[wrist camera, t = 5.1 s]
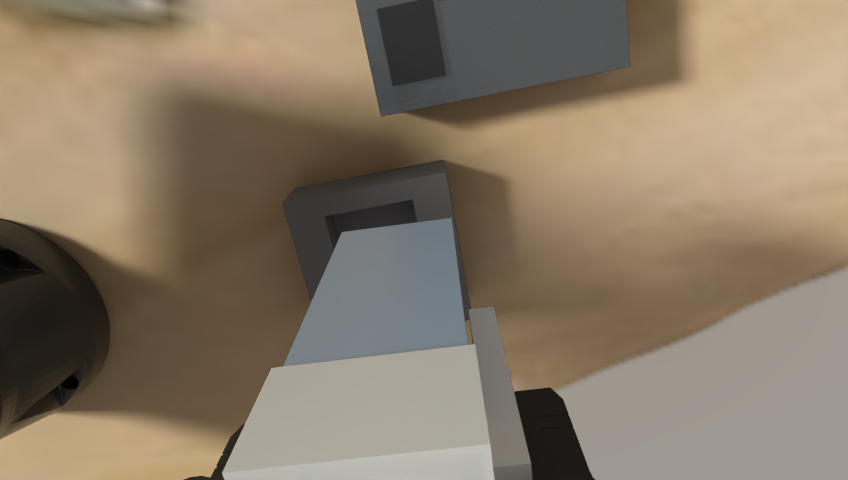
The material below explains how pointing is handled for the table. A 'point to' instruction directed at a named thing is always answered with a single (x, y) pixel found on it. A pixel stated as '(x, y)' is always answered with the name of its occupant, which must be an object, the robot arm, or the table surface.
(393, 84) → the port panel
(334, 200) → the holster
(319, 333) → the plug
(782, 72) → the table surface
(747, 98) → the table surface
